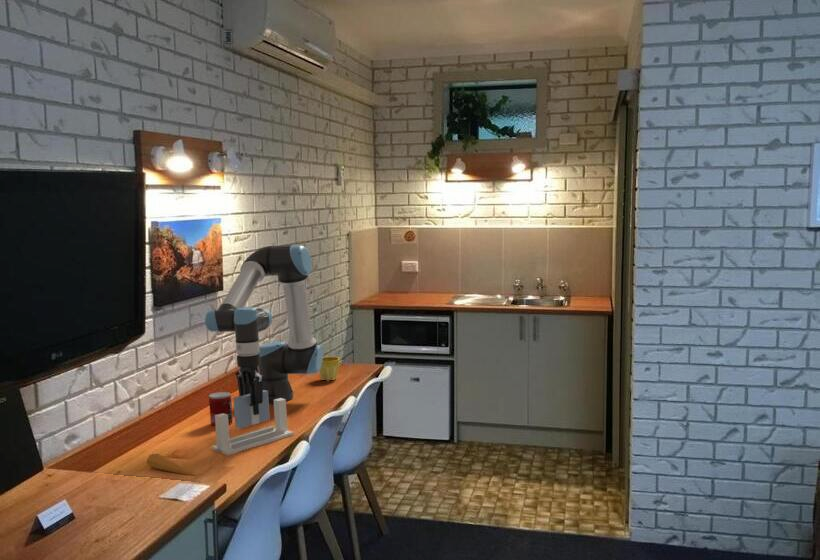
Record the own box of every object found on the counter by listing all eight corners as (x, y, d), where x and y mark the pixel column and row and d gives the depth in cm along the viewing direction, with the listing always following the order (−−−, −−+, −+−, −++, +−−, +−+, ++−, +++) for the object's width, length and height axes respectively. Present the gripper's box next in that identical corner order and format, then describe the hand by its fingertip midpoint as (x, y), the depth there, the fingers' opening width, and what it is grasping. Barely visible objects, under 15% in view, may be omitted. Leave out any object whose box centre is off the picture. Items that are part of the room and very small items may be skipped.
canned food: (227, 427, 261) (225, 397, 260) (206, 426, 263) (204, 397, 262) (236, 420, 269) (234, 391, 268) (216, 420, 271) (214, 391, 269)
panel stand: (276, 429, 256) (274, 396, 255) (293, 434, 249) (291, 400, 248) (211, 449, 237) (209, 413, 236) (228, 455, 230) (225, 418, 229)
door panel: (265, 418, 248) (263, 389, 247) (269, 419, 246) (268, 390, 245) (235, 427, 239) (233, 397, 238) (239, 428, 237) (237, 398, 236)
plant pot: (341, 376, 334) (340, 355, 333) (340, 381, 324) (339, 360, 323) (318, 377, 333) (317, 356, 332) (317, 383, 323) (315, 361, 322)
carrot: (146, 469, 221) (142, 458, 219) (157, 460, 225) (153, 449, 223) (195, 487, 212) (192, 475, 210) (205, 477, 216) (202, 465, 214)
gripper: (225, 353, 243) (230, 421, 245) (251, 358, 232) (256, 429, 234) (244, 349, 248) (248, 416, 250) (271, 354, 237) (275, 424, 240)
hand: (252, 422), depth 242 cm, fingers closed on door panel, 2 cm apart
